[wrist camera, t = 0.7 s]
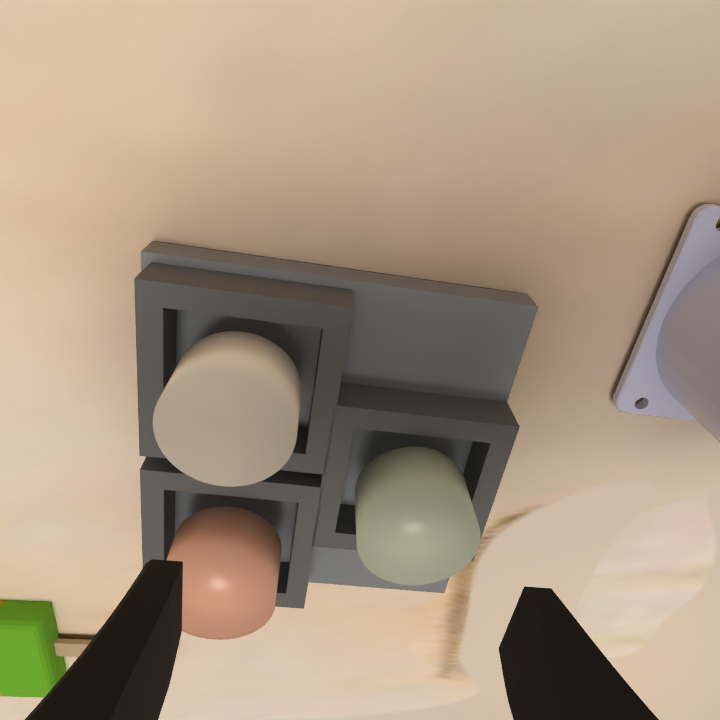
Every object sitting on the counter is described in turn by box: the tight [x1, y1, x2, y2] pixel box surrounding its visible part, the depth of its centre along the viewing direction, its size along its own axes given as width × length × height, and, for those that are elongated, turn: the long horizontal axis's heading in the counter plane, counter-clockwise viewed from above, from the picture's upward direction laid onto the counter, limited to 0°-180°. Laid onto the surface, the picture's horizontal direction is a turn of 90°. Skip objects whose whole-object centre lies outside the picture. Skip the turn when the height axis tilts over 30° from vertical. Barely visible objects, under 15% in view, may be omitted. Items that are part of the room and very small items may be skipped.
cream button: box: [153, 331, 302, 487], centre depth 17 cm, size 4×4×2 cm
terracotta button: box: [167, 506, 282, 640], centre depth 20 cm, size 4×4×2 cm
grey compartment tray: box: [135, 241, 538, 608], centre depth 21 cm, size 13×14×3 cm
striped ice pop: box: [0, 600, 92, 697], centre depth 27 cm, size 6×15×2 cm, turn 84°
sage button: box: [355, 446, 481, 585], centre depth 19 cm, size 4×4×2 cm
